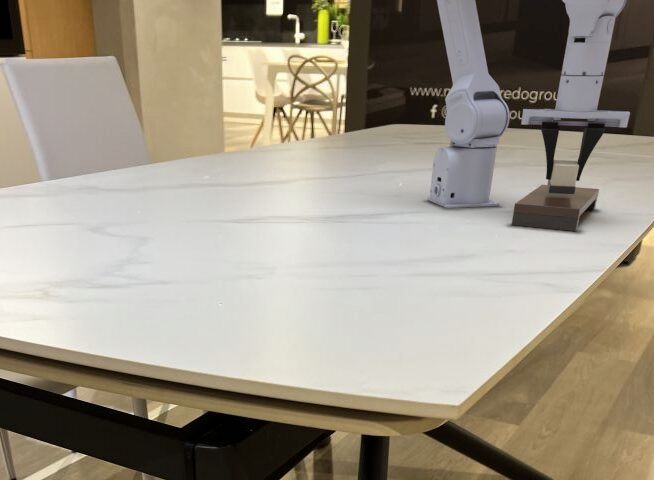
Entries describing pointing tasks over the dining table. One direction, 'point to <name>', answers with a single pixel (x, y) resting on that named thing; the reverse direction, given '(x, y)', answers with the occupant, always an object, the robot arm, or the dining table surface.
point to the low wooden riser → (554, 208)
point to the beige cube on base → (563, 177)
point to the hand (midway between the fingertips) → (562, 179)
